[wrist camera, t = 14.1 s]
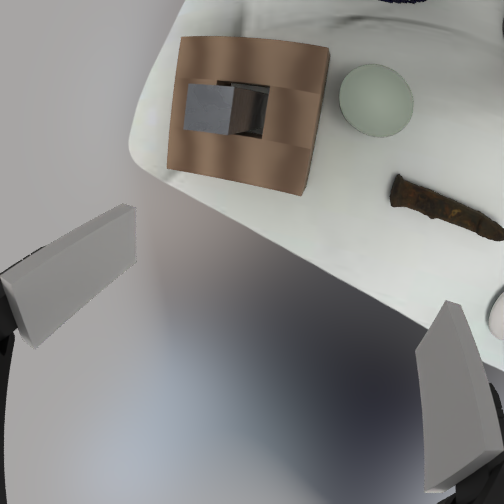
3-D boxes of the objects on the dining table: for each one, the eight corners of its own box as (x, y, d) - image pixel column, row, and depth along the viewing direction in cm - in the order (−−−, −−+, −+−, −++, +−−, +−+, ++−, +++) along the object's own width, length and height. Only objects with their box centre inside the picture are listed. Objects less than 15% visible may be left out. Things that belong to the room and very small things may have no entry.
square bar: (270, 94, 36) (234, 86, 24) (265, 127, 38) (227, 135, 26) (237, 90, 37) (188, 83, 25) (233, 122, 39) (183, 129, 27)
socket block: (330, 55, 31) (328, 47, 27) (306, 186, 40) (301, 196, 36) (198, 43, 35) (181, 36, 30) (184, 161, 43) (166, 168, 39)
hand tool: (385, 199, 38) (390, 209, 34) (395, 171, 36) (401, 179, 32) (491, 244, 35) (503, 258, 31) (502, 221, 33) (515, 233, 29)
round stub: (406, 83, 30) (419, 77, 24) (394, 141, 34) (404, 146, 28) (345, 66, 32) (346, 55, 26) (334, 124, 35) (332, 125, 29)
